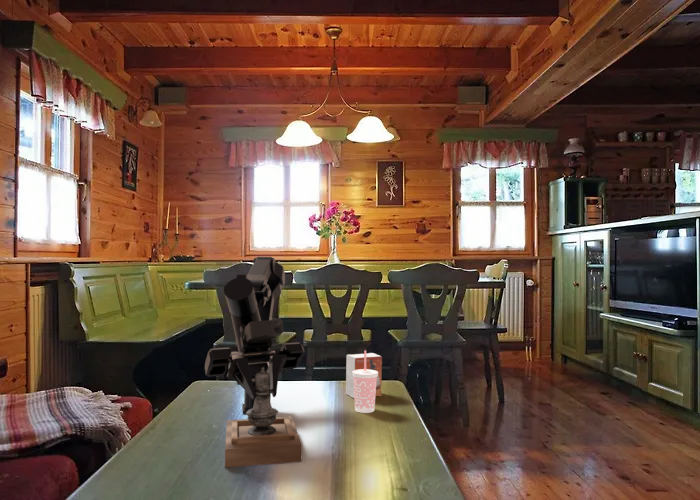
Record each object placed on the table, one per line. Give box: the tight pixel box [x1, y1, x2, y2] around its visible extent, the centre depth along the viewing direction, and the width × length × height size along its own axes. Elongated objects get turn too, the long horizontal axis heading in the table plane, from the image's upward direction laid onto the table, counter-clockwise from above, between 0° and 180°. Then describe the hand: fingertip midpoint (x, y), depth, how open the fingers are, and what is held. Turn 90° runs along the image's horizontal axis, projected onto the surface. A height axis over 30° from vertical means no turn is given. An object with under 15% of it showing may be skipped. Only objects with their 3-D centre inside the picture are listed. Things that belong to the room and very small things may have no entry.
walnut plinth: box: [224, 416, 303, 469], centre depth 95 cm, size 16×13×4 cm
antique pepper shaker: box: [245, 367, 279, 436], centre depth 95 cm, size 6×6×12 cm
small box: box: [345, 352, 383, 400], centre depth 133 cm, size 8×6×10 cm
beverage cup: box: [352, 350, 378, 414], centre depth 120 cm, size 6×6×14 cm
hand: (264, 397), depth 94 cm, fingers closed on antique pepper shaker, 4 cm apart
